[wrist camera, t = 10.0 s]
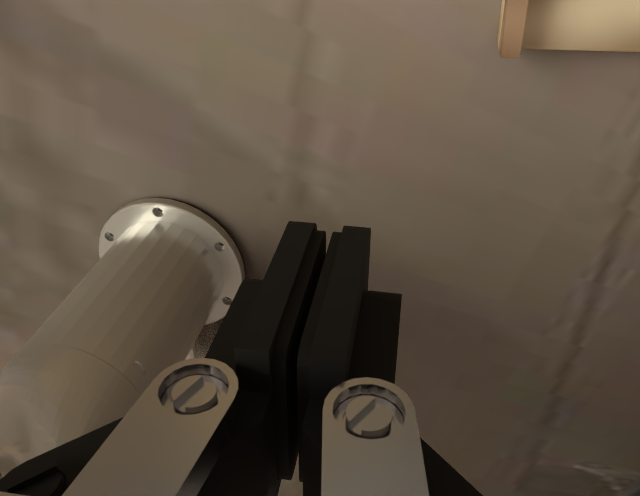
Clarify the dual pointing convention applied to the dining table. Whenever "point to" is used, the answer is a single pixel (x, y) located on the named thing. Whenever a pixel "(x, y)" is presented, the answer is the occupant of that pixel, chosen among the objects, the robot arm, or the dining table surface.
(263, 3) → the dining table surface
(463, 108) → the dining table surface
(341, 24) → the dining table surface
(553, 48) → the fader track
